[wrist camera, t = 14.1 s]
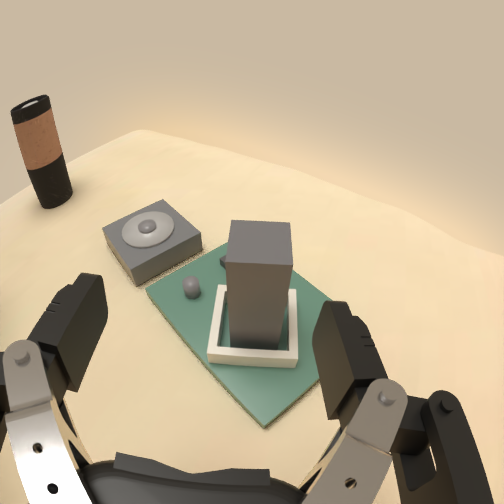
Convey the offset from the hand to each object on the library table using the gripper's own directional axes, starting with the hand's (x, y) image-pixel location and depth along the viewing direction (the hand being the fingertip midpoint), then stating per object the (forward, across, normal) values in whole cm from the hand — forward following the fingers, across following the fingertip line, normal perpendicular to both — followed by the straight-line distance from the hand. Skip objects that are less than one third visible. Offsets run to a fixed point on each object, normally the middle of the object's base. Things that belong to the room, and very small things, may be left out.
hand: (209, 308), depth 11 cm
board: (+17, -4, +15) cm, 23 cm away
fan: (+28, +9, +14) cm, 32 cm away
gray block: (+14, -4, +14) cm, 21 cm away
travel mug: (+41, +33, +14) cm, 55 cm away
